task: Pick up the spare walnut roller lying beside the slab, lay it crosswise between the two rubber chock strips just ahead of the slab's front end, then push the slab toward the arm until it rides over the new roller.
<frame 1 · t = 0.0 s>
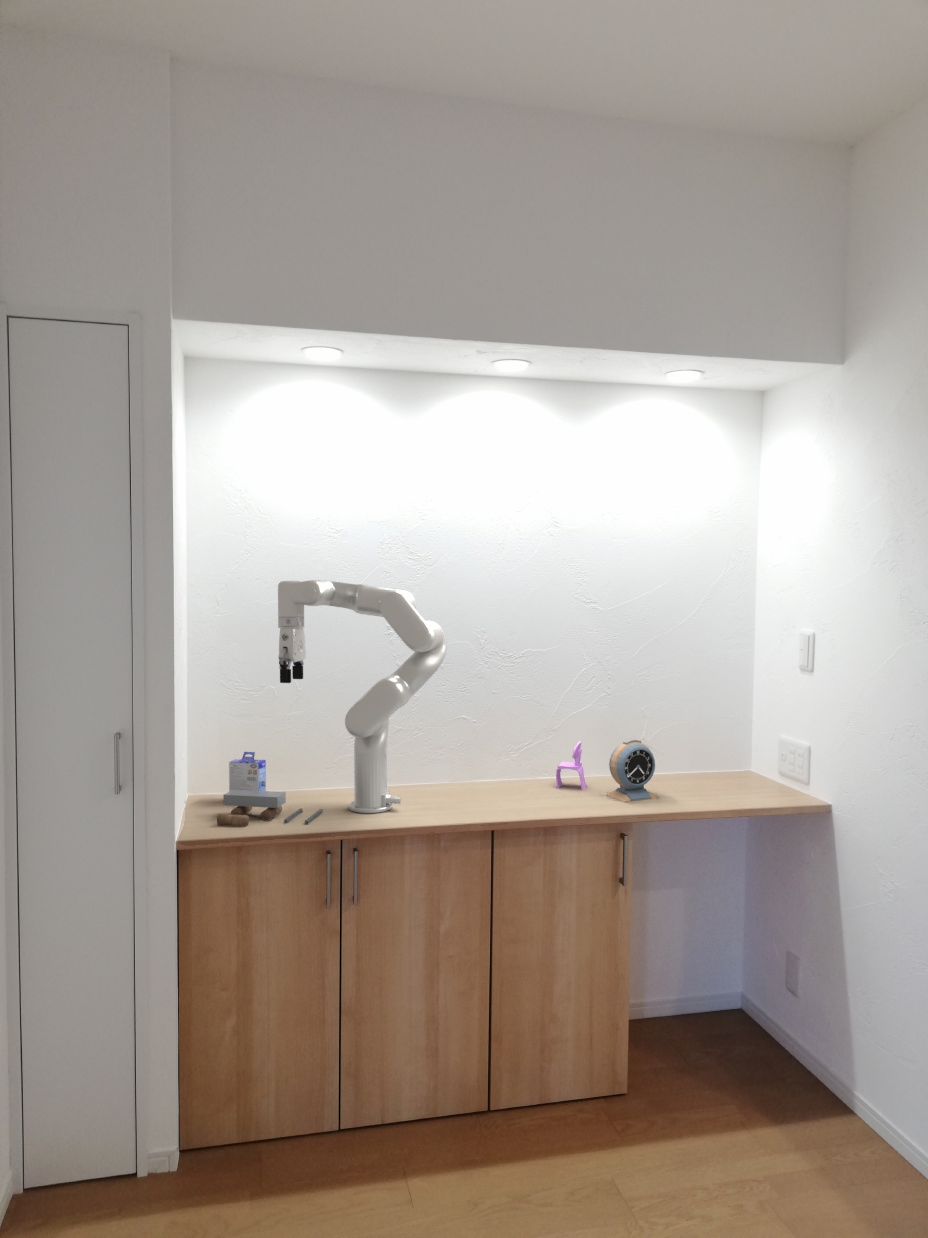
hand: (291, 680, 259), 37 cm above the table, tool pointing down, fingers open, 9 cm apart
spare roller: (232, 825, 239), on the table
alarm clock: (631, 797, 270), on the table
rear roller: (241, 815, 249), on the table
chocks: (303, 818, 246), on the table
front roller: (271, 817, 248), on the table
ink cartridge box: (248, 801, 265), on the table
toy chair: (571, 788, 282), on the table
slab: (254, 798, 248), point 5 cm above the table, slide at 0.0 cm
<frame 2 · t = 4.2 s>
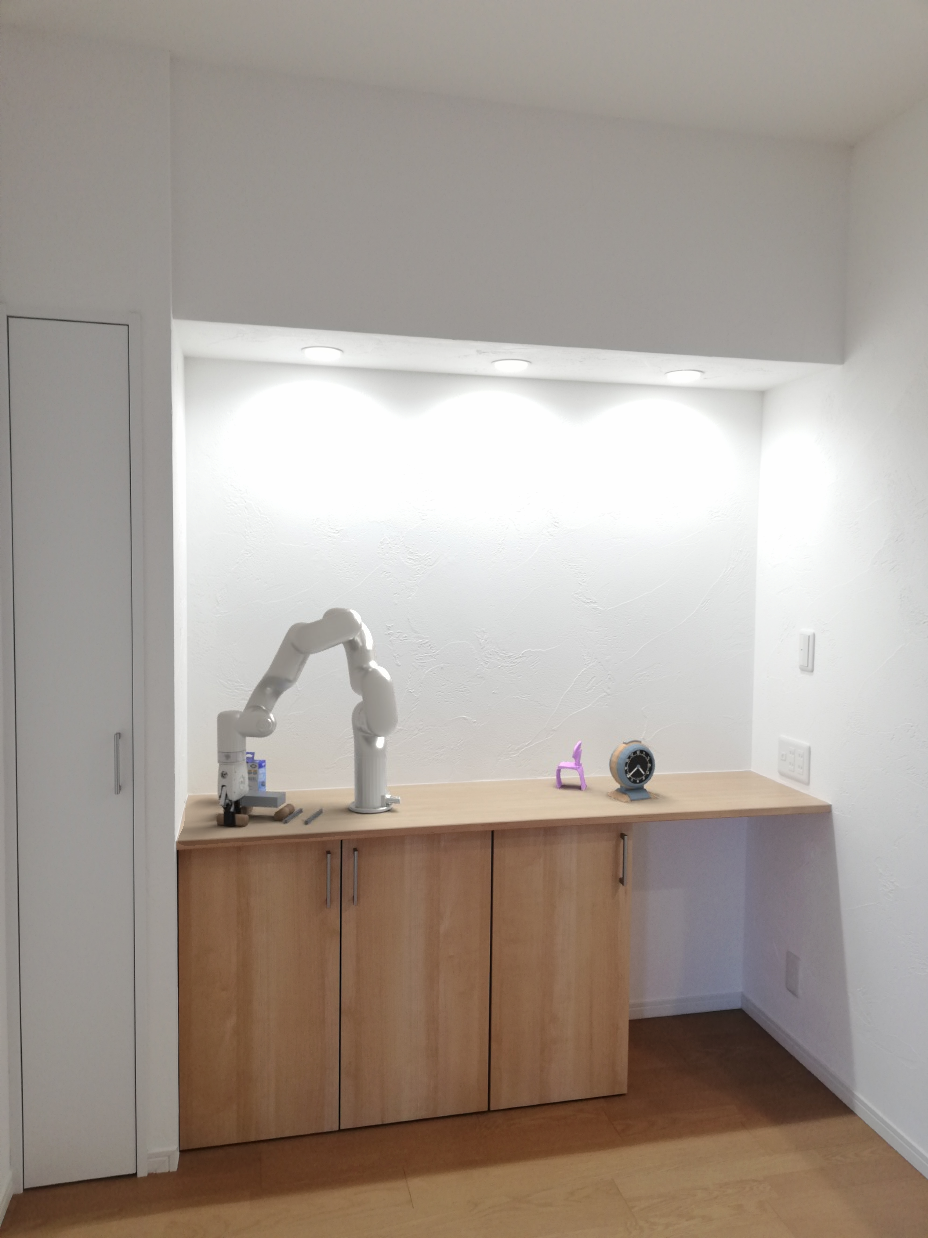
hand: (232, 823, 239), 1 cm above the table, tool pointing down, fingers closed on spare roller, 3 cm apart
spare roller: (232, 825, 239), on the table, touching gripper
rear roller: (241, 815, 249), on the table, tilted 10°
front roller: (282, 807, 247), point 3 cm above the table, tilted 157°
everything else where it was.
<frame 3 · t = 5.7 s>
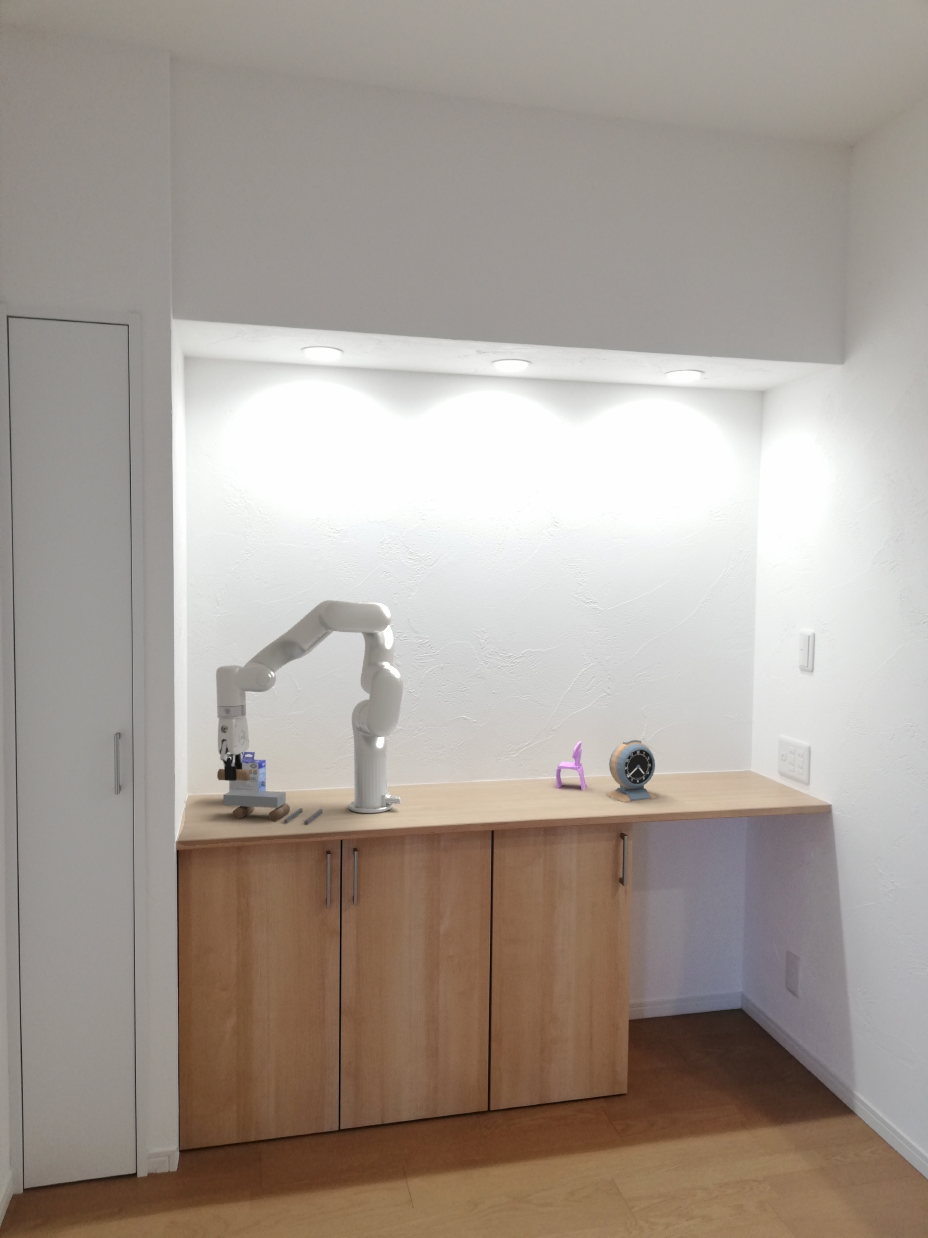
hand: (233, 778, 239), 13 cm above the table, tool pointing down, fingers closed on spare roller, 3 cm apart
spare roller: (233, 780, 239), point 12 cm above the table, touching gripper
rear roller: (241, 815, 249), on the table, tilted 21°
front roller: (274, 811, 248), point 2 cm above the table, tilted 100°
everything else where it was.
when the fingers open (1 cm above the table, at t = 11.0 s): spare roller stays where it is, on the table.
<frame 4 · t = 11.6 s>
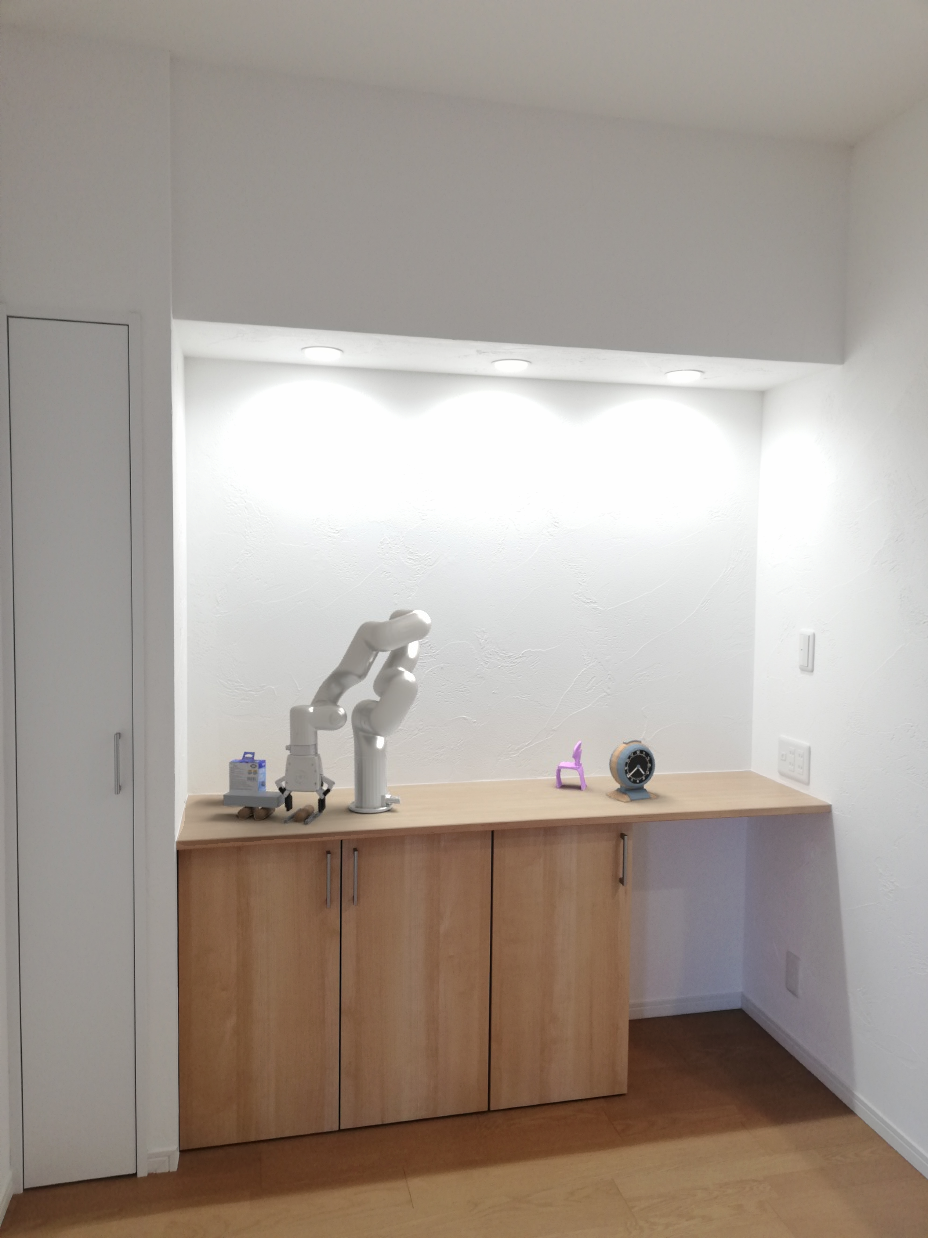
hand: (305, 810, 246), 2 cm above the table, tool pointing down, fingers open, 9 cm apart
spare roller: (304, 818, 246), on the table
rear roller: (243, 811, 249), point 1 cm above the table, tilted 85°
front roller: (269, 812, 248), point 1 cm above the table, tilted 79°
slab: (254, 798, 248), point 5 cm above the table, slide at -0.1 cm, touching gripper
everything else where it was.
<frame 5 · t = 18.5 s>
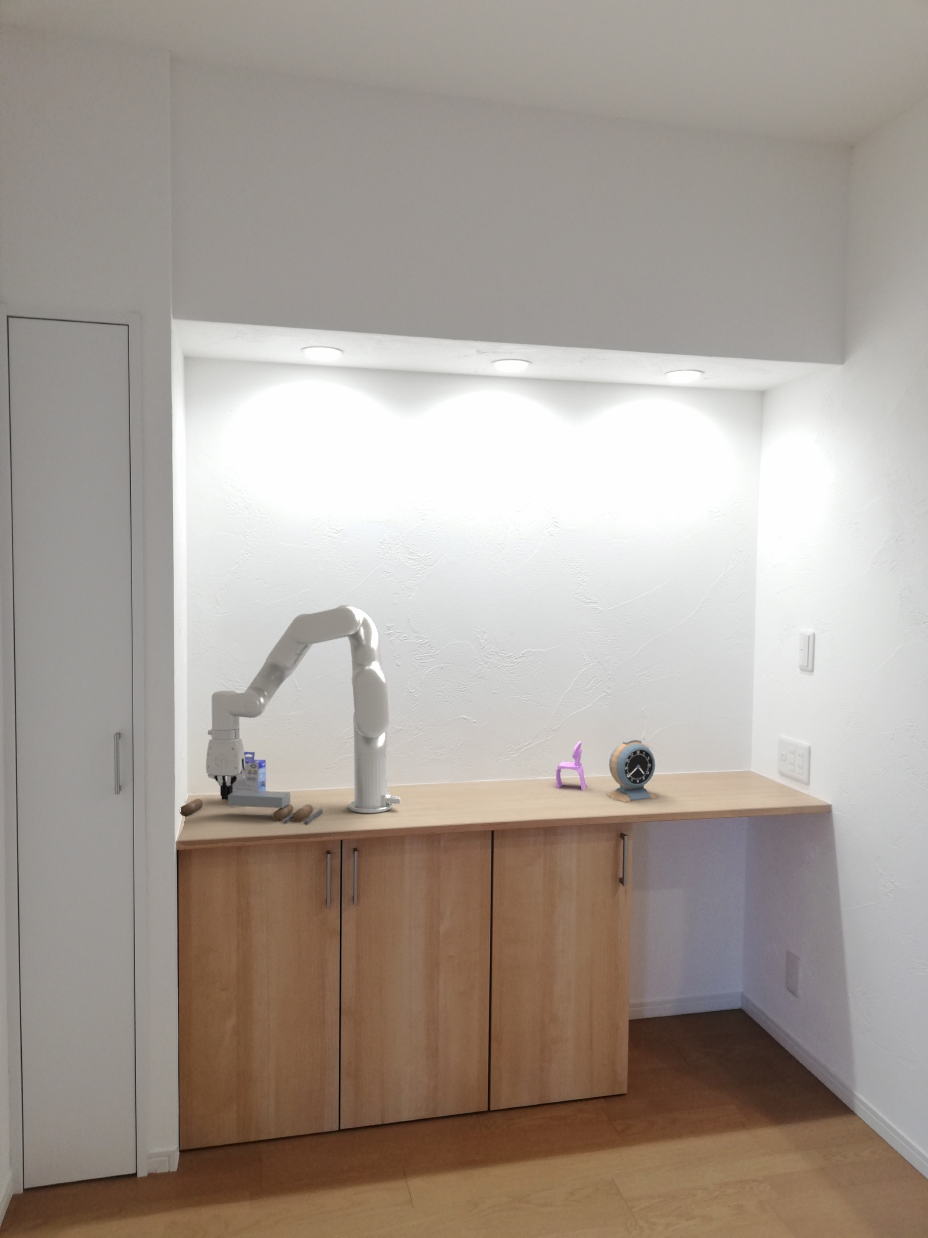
hand: (226, 798, 250), 4 cm above the table, tool pointing down, fingers closed
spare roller: (303, 818, 246), on the table, tilted 11°
rear roller: (186, 807, 252), point 1 cm above the table, tilted 92°
front roller: (280, 807, 247), point 3 cm above the table, tilted 146°
slab: (259, 799, 248), point 5 cm above the table, slide at 1.4 cm, touching gripper
everything else where it was.
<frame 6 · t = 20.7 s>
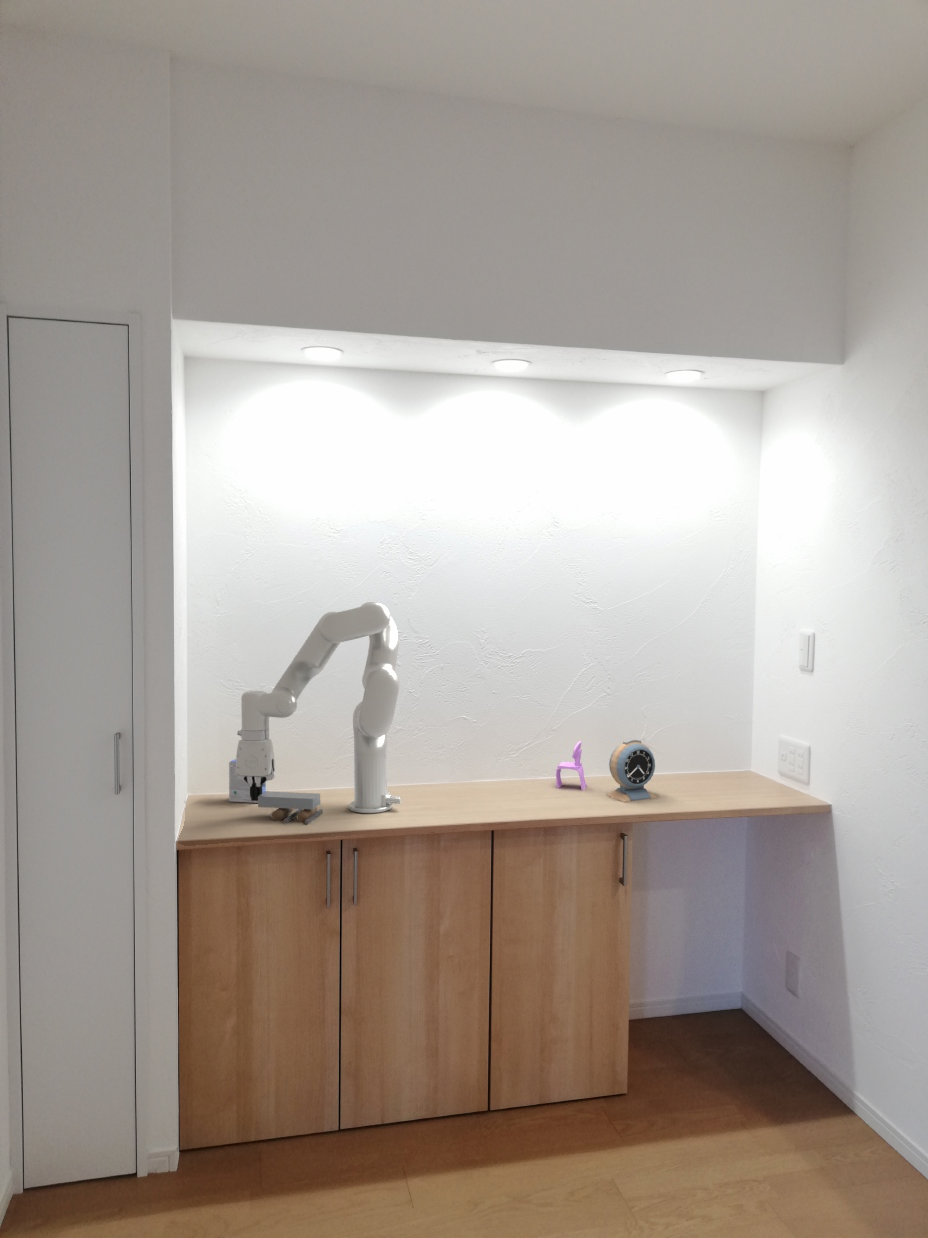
hand: (256, 799, 248), 5 cm above the table, tool pointing down, fingers closed
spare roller: (303, 817, 246), on the table, tilted 42°
rear roller: (168, 1102, 255), on the floor, tilted 103°
front roller: (278, 808, 247), point 2 cm above the table, tilted 134°
slab: (289, 800, 247), point 5 cm above the table, slide at 10.2 cm, touching gripper
everything else where it was.
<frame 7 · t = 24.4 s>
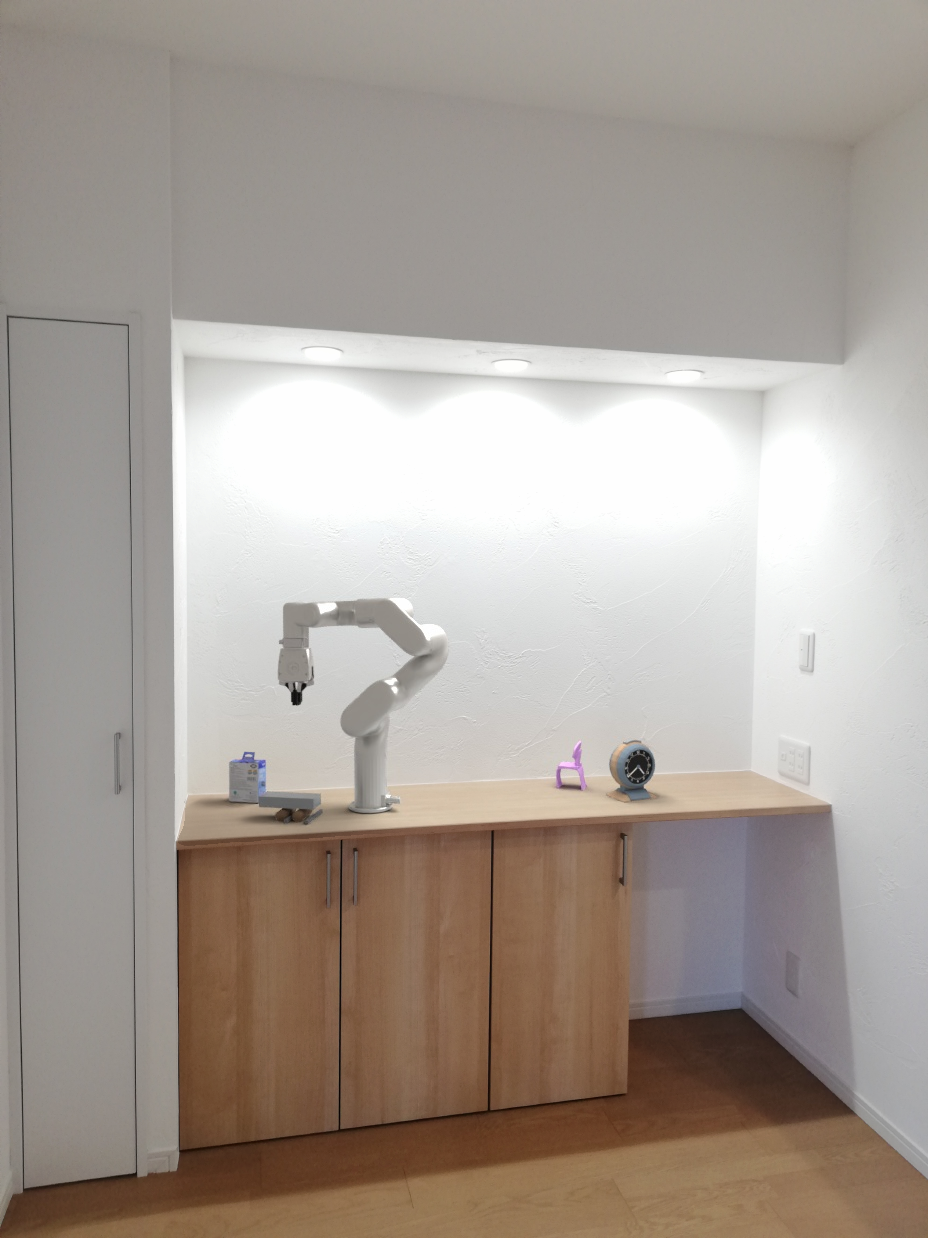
hand: (296, 704, 263), 29 cm above the table, tool pointing down, fingers closed
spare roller: (303, 818, 246), on the table, tilted 15°
rear roller: (170, 1117, 248), on the floor, tilted 91°
front roller: (285, 807, 247), point 3 cm above the table, tilted 179°
slab: (289, 800, 247), point 5 cm above the table, slide at 10.5 cm
everything else where it was.
at the end: slab slide at 10.5 cm; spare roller inside the target area (0.0 cm from its centre), on the table; the gripper is holding nothing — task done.
